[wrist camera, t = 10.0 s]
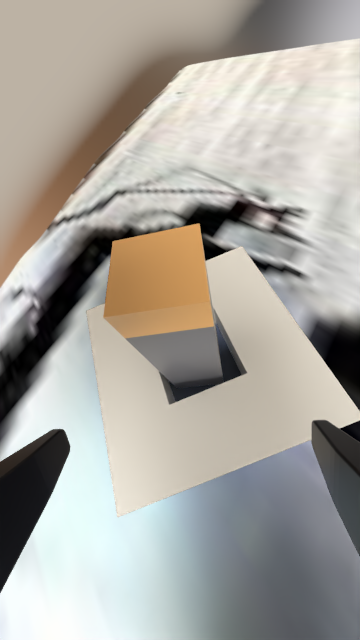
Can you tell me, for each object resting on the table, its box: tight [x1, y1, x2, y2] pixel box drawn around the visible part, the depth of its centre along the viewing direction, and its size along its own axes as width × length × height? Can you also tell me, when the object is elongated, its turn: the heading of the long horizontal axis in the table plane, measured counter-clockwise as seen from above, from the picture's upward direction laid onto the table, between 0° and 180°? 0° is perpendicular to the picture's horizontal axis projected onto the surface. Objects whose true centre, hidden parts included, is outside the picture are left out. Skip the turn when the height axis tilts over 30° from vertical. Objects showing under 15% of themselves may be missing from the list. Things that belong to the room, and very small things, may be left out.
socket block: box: [86, 246, 360, 517], centre depth 19 cm, size 16×16×3 cm
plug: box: [103, 224, 224, 388], centre depth 15 cm, size 4×4×13 cm
